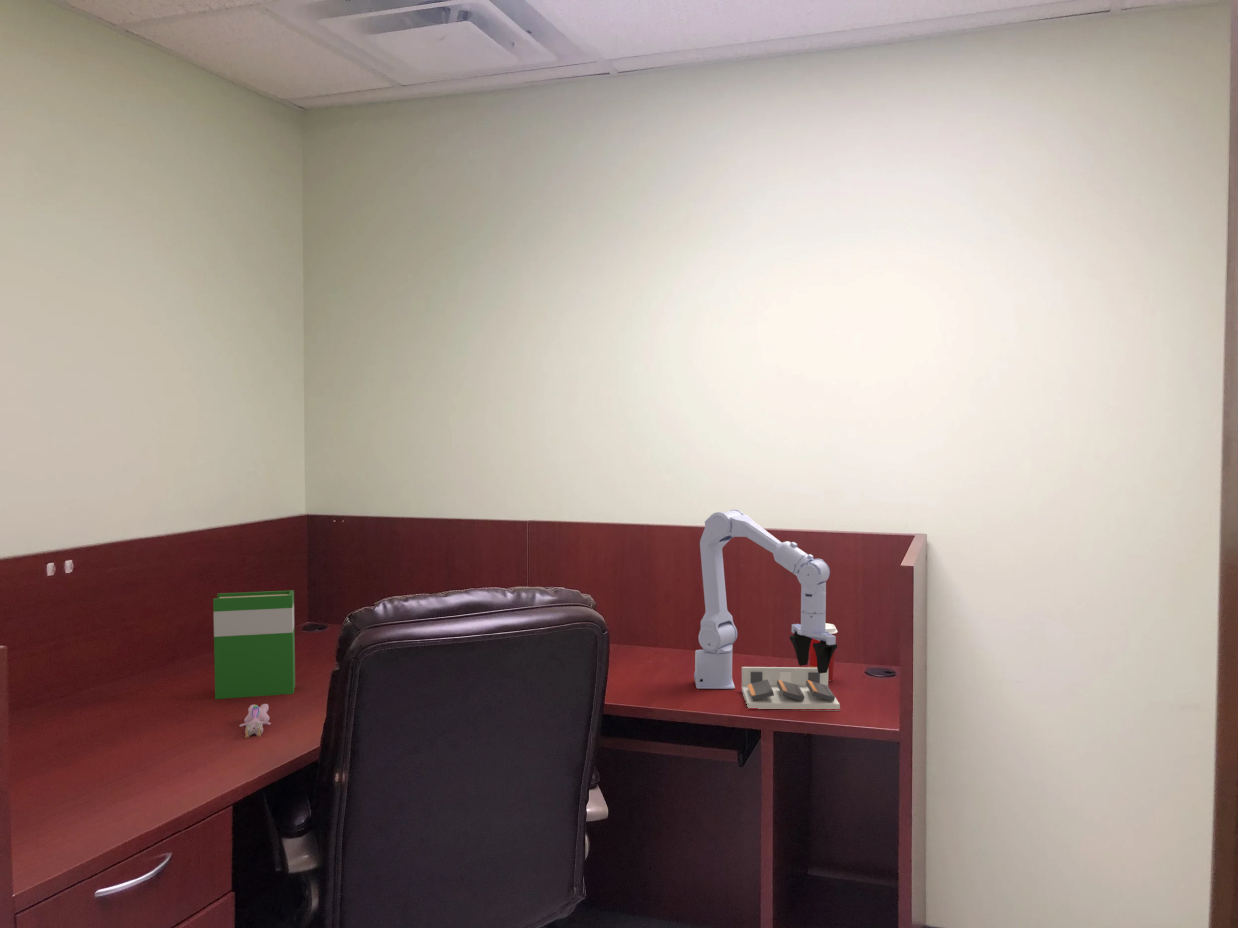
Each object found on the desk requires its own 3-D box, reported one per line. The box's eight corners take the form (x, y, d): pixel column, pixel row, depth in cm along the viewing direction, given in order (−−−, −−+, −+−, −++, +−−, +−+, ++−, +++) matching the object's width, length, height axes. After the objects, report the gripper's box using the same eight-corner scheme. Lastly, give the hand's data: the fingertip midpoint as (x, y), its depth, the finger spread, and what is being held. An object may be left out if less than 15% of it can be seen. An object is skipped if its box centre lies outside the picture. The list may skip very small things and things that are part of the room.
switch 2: (782, 695, 223) (783, 690, 223) (776, 683, 233) (777, 678, 233) (803, 701, 223) (804, 696, 223) (796, 688, 233) (797, 684, 233)
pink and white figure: (269, 743, 203) (275, 711, 217) (268, 717, 202) (274, 686, 216) (237, 745, 201) (245, 713, 216) (236, 719, 200) (244, 688, 214)
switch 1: (753, 700, 223) (751, 695, 223) (748, 688, 233) (747, 683, 233) (774, 695, 223) (772, 690, 223) (768, 683, 233) (767, 678, 233)
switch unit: (748, 709, 222) (748, 683, 222) (741, 690, 237) (741, 666, 237) (839, 710, 222) (840, 684, 222) (827, 691, 237) (827, 667, 237)
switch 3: (812, 695, 223) (814, 691, 223) (805, 683, 233) (806, 679, 233) (833, 701, 223) (835, 696, 223) (825, 689, 233) (826, 684, 233)
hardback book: (215, 699, 230) (213, 599, 228) (219, 690, 237) (217, 593, 236) (293, 693, 234) (291, 595, 233) (295, 685, 241) (293, 590, 240)
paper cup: (834, 675, 251) (835, 622, 251) (838, 684, 244) (839, 629, 243) (804, 675, 252) (805, 621, 251) (807, 683, 244) (808, 628, 244)
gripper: (781, 607, 232) (780, 663, 232) (818, 618, 219) (817, 678, 219) (805, 604, 235) (804, 660, 235) (843, 616, 222) (842, 674, 222)
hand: (812, 668), depth 228 cm, fingers open, 7 cm apart
